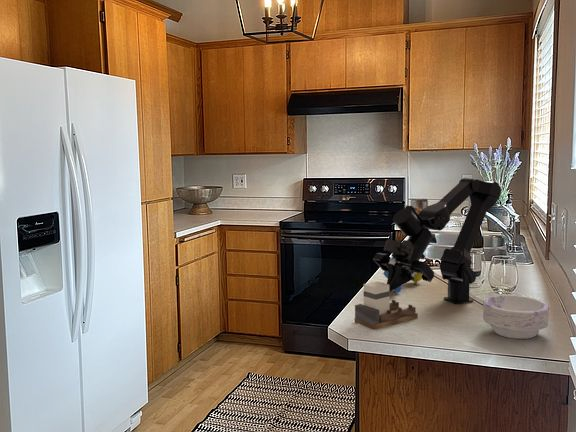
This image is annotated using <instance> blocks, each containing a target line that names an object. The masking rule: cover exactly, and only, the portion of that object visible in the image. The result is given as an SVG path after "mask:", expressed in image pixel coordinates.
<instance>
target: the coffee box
mask: <svg viewBox="0 0 576 432" xmlns="http://www.w3.org/2000/svg"><path fill="white" fill-rule="evenodd" d="M410 206H413V207H414V209H415V211H416V212H417V213H418V214H419V213H420V211H421V210H423V209H424V208H426V207H428V206H429V200H428V198H410Z"/></svg>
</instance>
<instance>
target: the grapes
mask: <svg viewBox="0 0 576 432" xmlns="http://www.w3.org/2000/svg"><path fill="white" fill-rule="evenodd" d="M390 258H391V259H394V260H395V258H393V257H392V256H391V257H390ZM382 274H383V276H384V277H385V278H386V279H388V274H389V272H386V271H384V270H383V272H382ZM402 290H403V285H401V286H399V287H398V288H396V289H394V290H393V291H394V292H395V293H396V294H399V293H400V292H401V291H402Z"/></svg>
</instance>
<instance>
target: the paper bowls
mask: <svg viewBox="0 0 576 432" xmlns="http://www.w3.org/2000/svg"><path fill="white" fill-rule="evenodd" d="M482 308H483V311H482V316H483V317H482V319H483V321H484V322H485V323H486V324H488V325H490V326H491V329H492V330H493V332H494V333H495V334H497V335H498V336H501V337H504V338H509V339H513V340H514V339H516V340H517V339H518V340H527V339H531V338H533V337H536V336H537V335H538V334H539V332H540V330H544V329H546V328H547V327H548V326H549V321H550V319H549V318H550V307H549V304H547V303H546V302H544V301H542V300H540V299H537V298H535V297H529V296H523V295H515V294H497V295H491V296H488V297H486V298H485V299H484V300H483V307H482Z"/></svg>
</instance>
